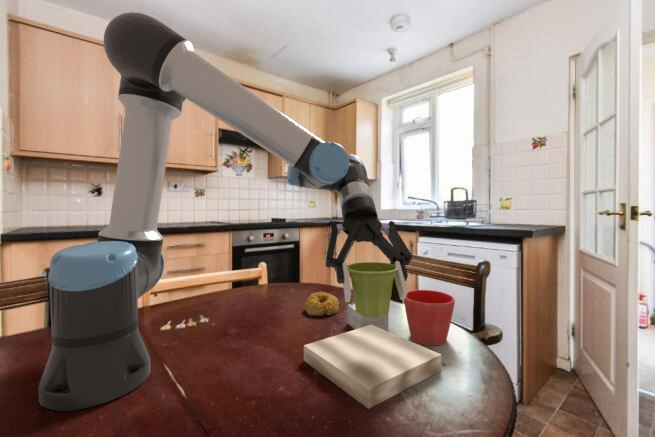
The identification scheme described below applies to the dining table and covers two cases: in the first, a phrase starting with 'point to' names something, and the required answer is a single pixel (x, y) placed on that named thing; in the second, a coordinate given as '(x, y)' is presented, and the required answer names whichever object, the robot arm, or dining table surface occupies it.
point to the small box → (365, 319)
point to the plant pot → (372, 287)
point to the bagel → (321, 304)
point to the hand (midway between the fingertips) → (376, 297)
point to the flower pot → (429, 315)
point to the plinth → (372, 363)
